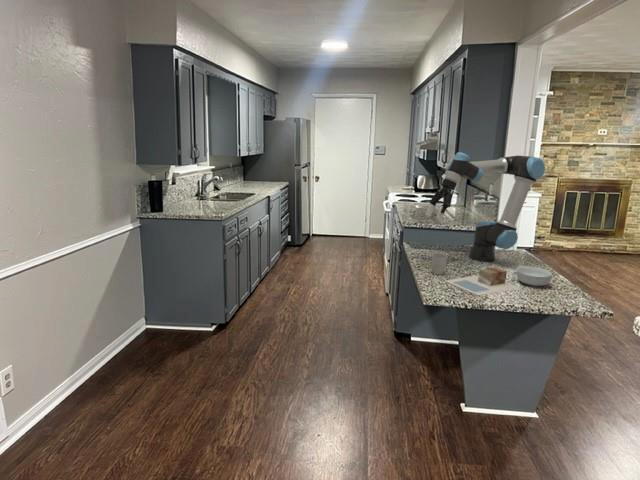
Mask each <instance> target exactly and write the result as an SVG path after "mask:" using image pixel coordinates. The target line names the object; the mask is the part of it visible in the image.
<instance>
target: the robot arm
mask: <svg viewBox="0 0 640 480" xmlns="http://www.w3.org/2000/svg"><path fill="white" fill-rule="evenodd" d="M545 170H546V166H545V163H544V161H543V159H541V158H540V157H537V156H530V155H529V156H527V155H512V156H505V157H500V158H498V159H491V160H490V159H489V160H480V161H479V160H478V161H470V156H469V155H468V154H466V153H463V152H462V151H461V152H459V151H458V152H456V154H455V155H454V157H453V158H452V161H451V162H450V163H449V164H448V165H447V167H446V172H445V176H444V178H443V180H442V182H441V184H440V185H441V186H442V187H438V189H437V191H436V192H435V193H434V194H433V196H432V197H431V198H430V200H429V203H430V205H429V207H428V209H427V210H426V213H425V216H428V217H431V216H432V214H433V212H434V209H435V208H436V206H437V204H438V202H440V200H441V199H442V205H441V207H440V208H439V211H438V213H437V214H436V217H435V218H436V219H438V220H440V221H441V220H442V218H443V216H444V214H445V212H446V210H447V209H448V208H450V207H451V204H452V200H453V195H454V192H455V189H456V188H457V185H458V183H459V182H460V180H461V178H462V179H466V180H470V181H471V182H474V183H476V182H480V181H481V180H482V178H483V176H484V175H488V174H497V173H498V174H499V175H511V176H513V178H514V184H513V186H512V189H511V191H510V194H509V196H508V198H507V202H506V204H505V206H504V209H503V212H502V214H501V217H500V219H499V220H498V221H489V220H488V221H487V220H485V221H484V220H483V221H482V220H481V221H477V222H476V224H475V228H474V229H475V230H474V238H473V245H472V247H471V249H470V251H469V253H468V258H469V259H472V260H475V261H481V262H493V261H495V260H496V255H495V249H494V247H497V248H499V249H503V250H509V249H511V248H513V247H514V246H515V245H516V244H517V242H518V238H519V237H518V233H517V226H516V225H517V222H518V219H519V216H520V213H521V211H522V210H523V209H522V208H523V207H524V203H525V201H526V200H527V199H526V198H527V197H528V193H529V191H530V188H531V186H533V185H534V184H536V181H537V180H538V179H540V178H542V177H543V176H544V174H545Z"/></svg>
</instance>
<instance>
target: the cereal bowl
mask: <svg viewBox="0 0 640 480" xmlns="http://www.w3.org/2000/svg"><path fill="white" fill-rule="evenodd" d="M515 277H516V278H517V279H518V281H520V282H521V283H523V284H525V285H528V286H531V287H541V286H545V285H548V284H549V283H550V282H551V280H552V278H553V273H552V272H550V271H549V270H546V269H543V268H539V267H532V266H519V267H517V268H516V272H515Z"/></svg>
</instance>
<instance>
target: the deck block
mask: <svg viewBox="0 0 640 480" xmlns="http://www.w3.org/2000/svg"><path fill="white" fill-rule="evenodd" d="M507 273H508V271H507V270H505V269H502V268H499V267H497V266H495V267H493V266H492V267H487V268H482V269H481V268H480V269H479V271H478V275H479V277H478V282H480V283H482V284H485V285H487V286H492V285H498V284H503V283H505V282H506V279H507Z"/></svg>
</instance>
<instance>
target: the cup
mask: <svg viewBox="0 0 640 480" xmlns="http://www.w3.org/2000/svg"><path fill="white" fill-rule="evenodd" d="M448 257H449V256H447V255H446V254H444V253H443V254H442V253H433V254H431V271H432V274H433V275H435V276H436V275H438V276H439V275H443V273H444V272H445V271H446V265H447V262H448Z"/></svg>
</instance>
